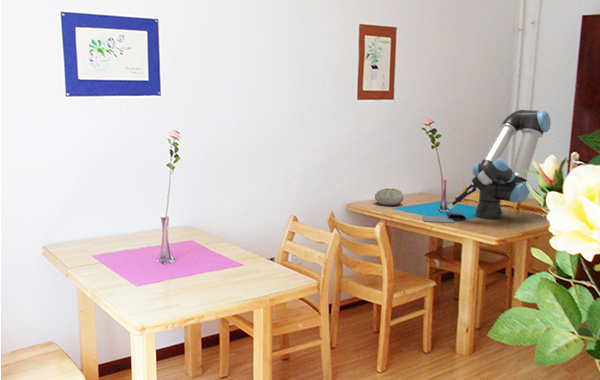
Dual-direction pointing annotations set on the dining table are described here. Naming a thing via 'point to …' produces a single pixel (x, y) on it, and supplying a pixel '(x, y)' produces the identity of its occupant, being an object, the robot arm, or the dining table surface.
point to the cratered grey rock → (389, 196)
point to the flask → (456, 215)
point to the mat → (437, 219)
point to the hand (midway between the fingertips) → (448, 207)
